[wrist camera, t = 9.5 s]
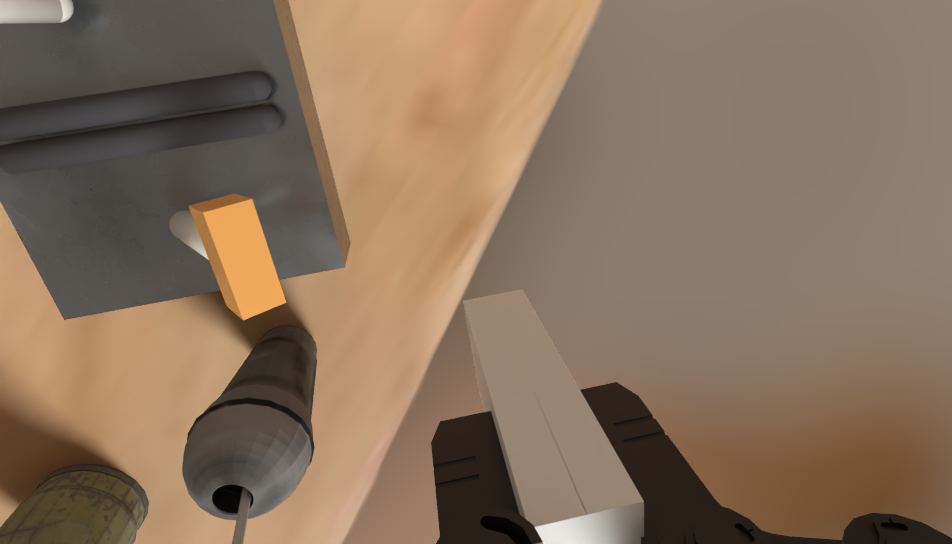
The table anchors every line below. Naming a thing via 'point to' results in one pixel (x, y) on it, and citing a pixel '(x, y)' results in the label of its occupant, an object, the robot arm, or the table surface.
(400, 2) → the table surface
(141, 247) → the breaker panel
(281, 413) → the beverage cup
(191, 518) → the table surface
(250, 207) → the orange mallet
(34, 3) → the white toy hammer
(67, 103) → the cord bundle
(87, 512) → the thermos
